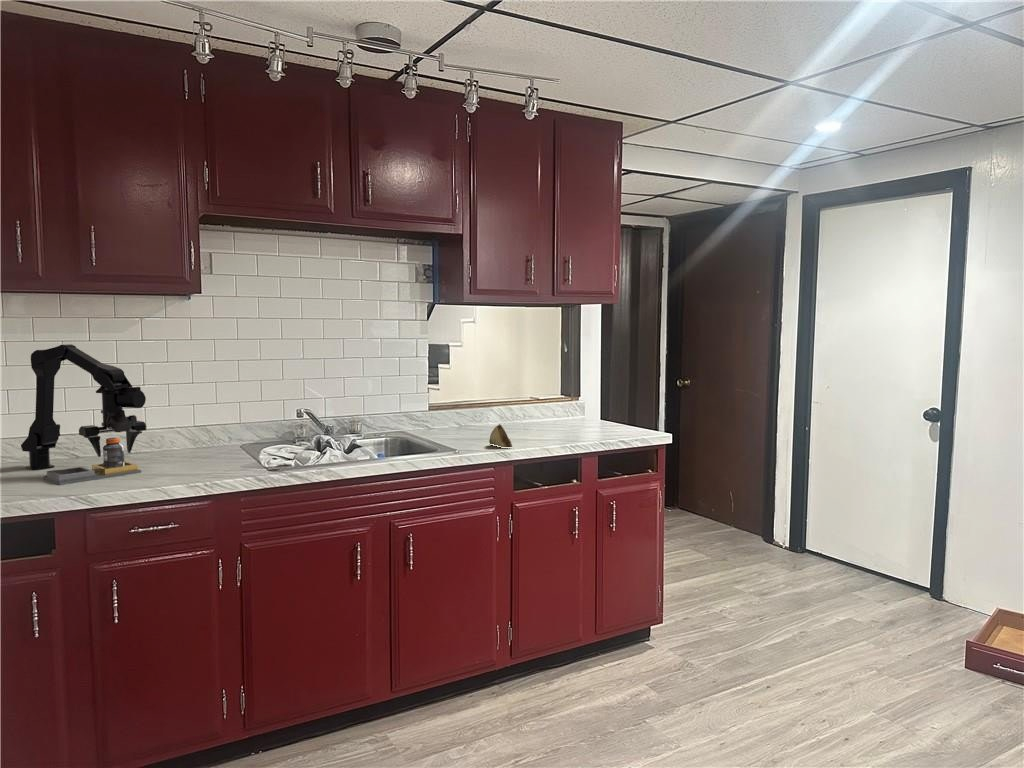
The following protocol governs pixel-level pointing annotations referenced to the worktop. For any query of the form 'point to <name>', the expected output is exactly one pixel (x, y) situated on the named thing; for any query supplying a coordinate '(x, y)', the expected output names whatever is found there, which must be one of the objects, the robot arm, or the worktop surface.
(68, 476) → the faceplate
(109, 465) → the pill bottle
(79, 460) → the worktop surface
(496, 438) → the rock
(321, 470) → the worktop surface
